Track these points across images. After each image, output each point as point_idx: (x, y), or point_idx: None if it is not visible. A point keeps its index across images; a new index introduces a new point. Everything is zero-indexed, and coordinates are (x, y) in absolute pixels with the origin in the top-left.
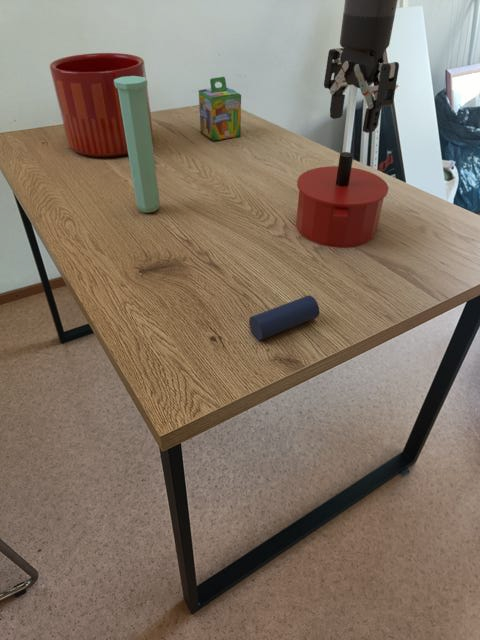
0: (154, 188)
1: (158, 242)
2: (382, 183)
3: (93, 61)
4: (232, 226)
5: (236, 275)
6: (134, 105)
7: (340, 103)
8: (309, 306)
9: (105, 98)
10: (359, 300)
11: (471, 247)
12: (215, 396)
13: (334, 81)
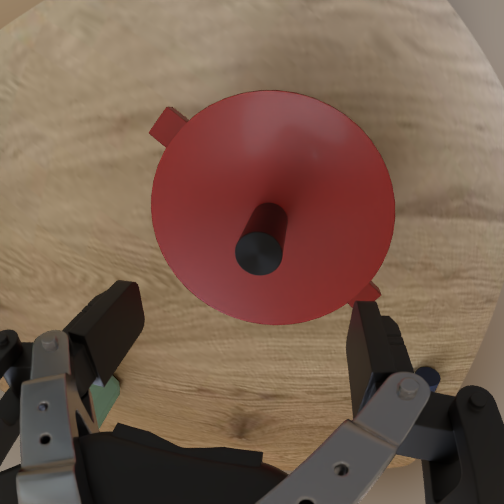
0: (104, 400)
1: (189, 408)
2: (330, 120)
3: None
4: (187, 334)
5: (307, 389)
6: None
7: (111, 332)
8: (434, 391)
9: None
10: (451, 307)
11: (471, 40)
12: None
13: (18, 380)
